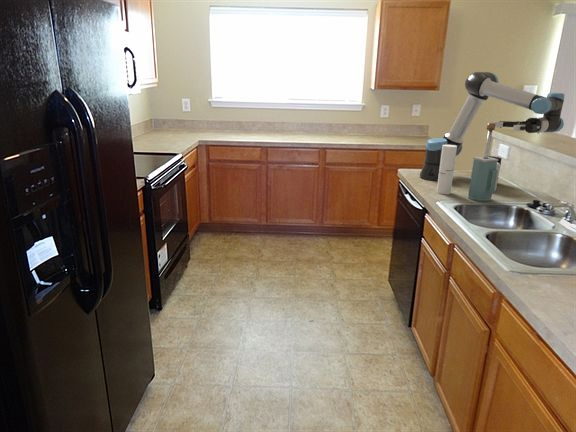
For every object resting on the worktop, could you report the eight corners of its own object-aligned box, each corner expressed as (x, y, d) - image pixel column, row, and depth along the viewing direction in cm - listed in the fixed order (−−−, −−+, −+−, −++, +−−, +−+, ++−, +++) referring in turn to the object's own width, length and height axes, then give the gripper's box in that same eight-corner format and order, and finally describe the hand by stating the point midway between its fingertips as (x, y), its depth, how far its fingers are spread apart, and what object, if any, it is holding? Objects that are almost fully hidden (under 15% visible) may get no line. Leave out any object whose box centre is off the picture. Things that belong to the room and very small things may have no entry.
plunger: (472, 172, 220) (480, 122, 212) (483, 172, 222) (491, 122, 214) (482, 176, 213) (491, 124, 205) (494, 175, 216) (503, 124, 208)
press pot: (463, 197, 225) (469, 156, 218) (480, 195, 228) (486, 155, 221) (482, 204, 213) (489, 161, 206) (499, 202, 216) (506, 160, 210)
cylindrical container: (451, 194, 229) (458, 147, 221) (437, 193, 230) (443, 146, 222) (449, 191, 236) (455, 145, 228) (435, 190, 237) (441, 144, 229)
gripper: (556, 136, 209) (522, 137, 202) (514, 129, 231) (482, 130, 224) (559, 120, 206) (525, 121, 200) (516, 115, 229) (485, 115, 222)
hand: (502, 126), depth 212 cm, fingers open, 13 cm apart
